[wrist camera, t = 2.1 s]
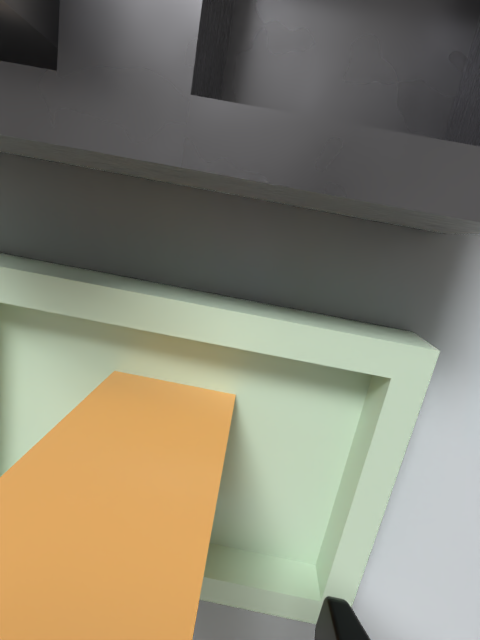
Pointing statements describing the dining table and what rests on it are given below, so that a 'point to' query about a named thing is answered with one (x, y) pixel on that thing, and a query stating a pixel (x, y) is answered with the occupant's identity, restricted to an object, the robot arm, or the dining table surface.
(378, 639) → the dining table surface
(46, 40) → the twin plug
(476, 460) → the dining table surface
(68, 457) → the plug
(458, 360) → the dining table surface
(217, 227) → the dining table surface
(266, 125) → the strip
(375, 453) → the tray
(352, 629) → the robot arm
